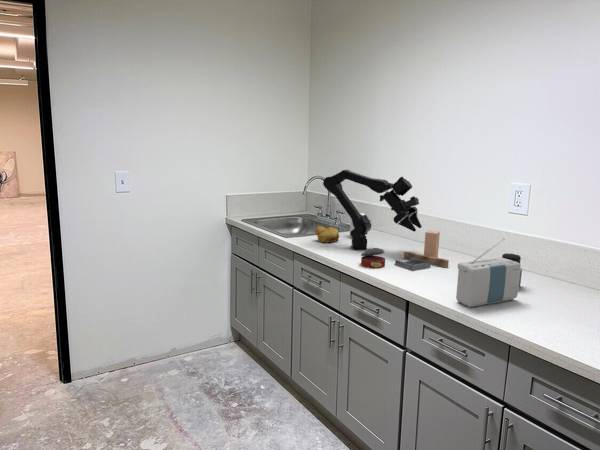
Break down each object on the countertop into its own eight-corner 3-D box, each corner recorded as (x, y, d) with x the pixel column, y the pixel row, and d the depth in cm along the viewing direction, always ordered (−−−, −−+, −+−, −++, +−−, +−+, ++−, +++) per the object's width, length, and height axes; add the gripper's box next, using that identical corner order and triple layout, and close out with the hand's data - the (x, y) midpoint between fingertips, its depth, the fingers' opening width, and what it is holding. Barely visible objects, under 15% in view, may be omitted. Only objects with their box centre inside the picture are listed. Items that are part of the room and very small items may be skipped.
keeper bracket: (394, 264, 197) (394, 260, 197) (411, 261, 203) (412, 257, 202) (412, 270, 188) (412, 266, 188) (430, 267, 194) (430, 262, 194)
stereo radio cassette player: (470, 310, 147) (476, 247, 143) (452, 301, 154) (457, 242, 150) (518, 301, 156) (525, 242, 152) (498, 293, 163) (504, 237, 159)
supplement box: (365, 239, 245) (366, 215, 243) (350, 238, 245) (351, 214, 243) (363, 236, 252) (364, 212, 250) (349, 235, 252) (350, 212, 250)
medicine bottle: (517, 290, 166) (521, 257, 164) (496, 287, 170) (499, 254, 168) (520, 285, 172) (523, 253, 170) (499, 282, 176) (502, 250, 174)
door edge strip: (403, 258, 207) (403, 252, 206) (405, 257, 208) (406, 251, 208) (445, 268, 193) (446, 260, 193) (448, 267, 195) (448, 260, 194)
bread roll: (334, 238, 246) (334, 223, 244) (345, 242, 238) (345, 226, 236) (313, 240, 240) (313, 225, 238) (323, 244, 231) (323, 228, 230)
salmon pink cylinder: (423, 259, 207) (425, 232, 205) (426, 256, 211) (428, 230, 209) (435, 260, 205) (437, 233, 203) (437, 258, 209) (439, 231, 207)
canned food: (362, 277, 194) (351, 255, 194) (370, 269, 203) (360, 248, 202) (386, 269, 188) (375, 246, 188) (393, 261, 197) (383, 239, 196)
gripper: (402, 192, 200) (426, 221, 197) (414, 188, 216) (437, 214, 213) (383, 209, 205) (406, 237, 202) (396, 204, 222) (418, 230, 218)
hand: (418, 229), depth 209 cm, fingers open, 9 cm apart
